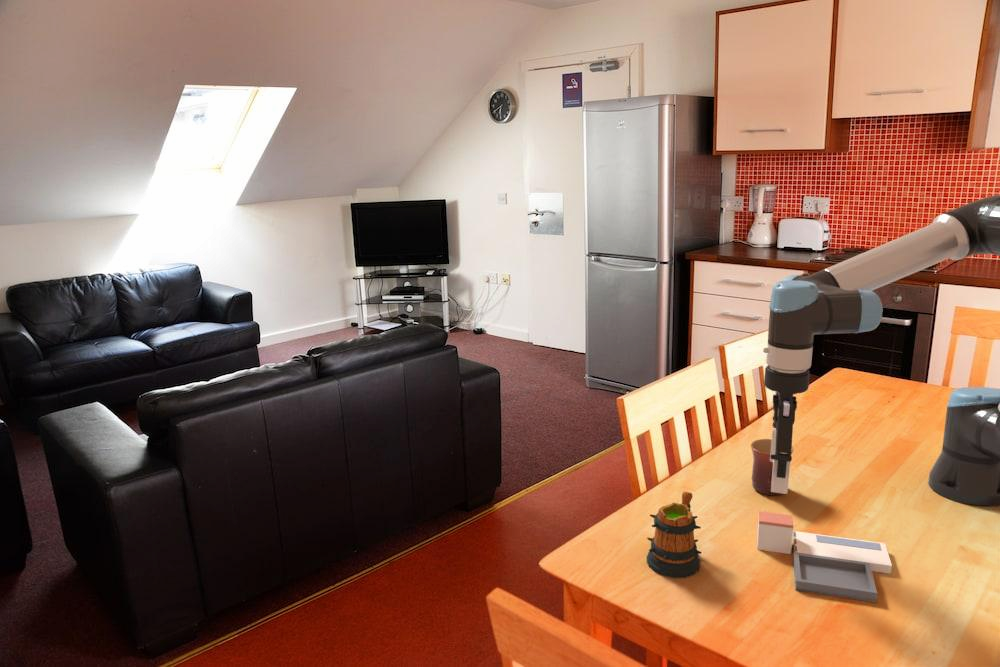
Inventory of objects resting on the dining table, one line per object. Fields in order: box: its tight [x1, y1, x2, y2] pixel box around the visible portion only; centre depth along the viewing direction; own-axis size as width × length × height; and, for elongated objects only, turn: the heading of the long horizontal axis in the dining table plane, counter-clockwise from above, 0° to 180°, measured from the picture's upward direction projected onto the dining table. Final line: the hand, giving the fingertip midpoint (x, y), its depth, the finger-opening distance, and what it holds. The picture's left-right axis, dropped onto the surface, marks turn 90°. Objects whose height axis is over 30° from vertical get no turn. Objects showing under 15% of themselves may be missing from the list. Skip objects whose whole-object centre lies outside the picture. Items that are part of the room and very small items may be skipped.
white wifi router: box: [792, 530, 893, 575], centre depth 139 cm, size 16×8×2 cm, turn 71°
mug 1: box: [646, 491, 702, 579], centre depth 137 cm, size 13×10×12 cm
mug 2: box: [750, 438, 794, 496], centre depth 162 cm, size 12×9×10 cm
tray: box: [792, 551, 878, 603], centre depth 131 cm, size 13×10×2 cm
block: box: [756, 510, 794, 555], centre depth 142 cm, size 6×4×6 cm, turn 71°
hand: (778, 476), depth 139 cm, fingers open, 13 cm apart
